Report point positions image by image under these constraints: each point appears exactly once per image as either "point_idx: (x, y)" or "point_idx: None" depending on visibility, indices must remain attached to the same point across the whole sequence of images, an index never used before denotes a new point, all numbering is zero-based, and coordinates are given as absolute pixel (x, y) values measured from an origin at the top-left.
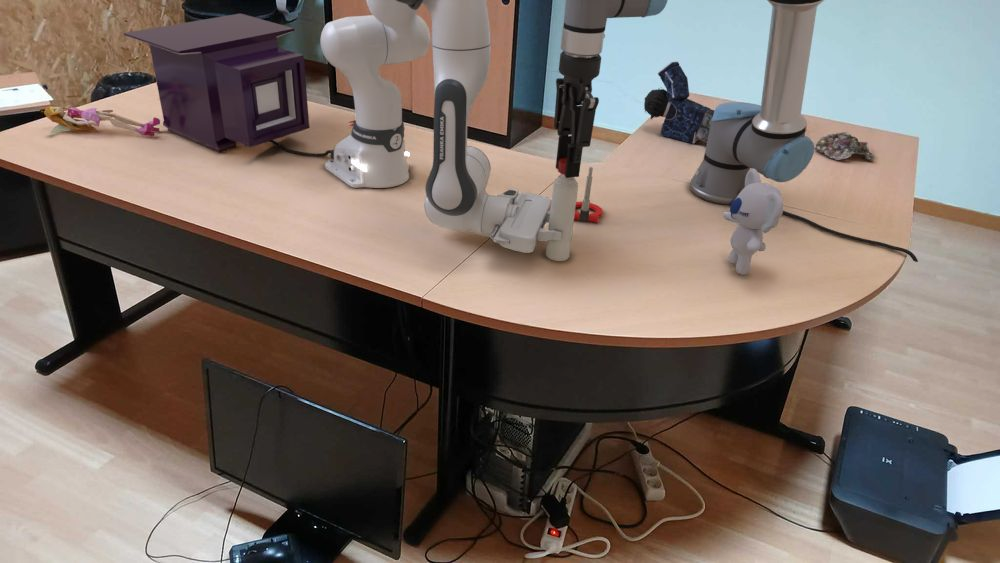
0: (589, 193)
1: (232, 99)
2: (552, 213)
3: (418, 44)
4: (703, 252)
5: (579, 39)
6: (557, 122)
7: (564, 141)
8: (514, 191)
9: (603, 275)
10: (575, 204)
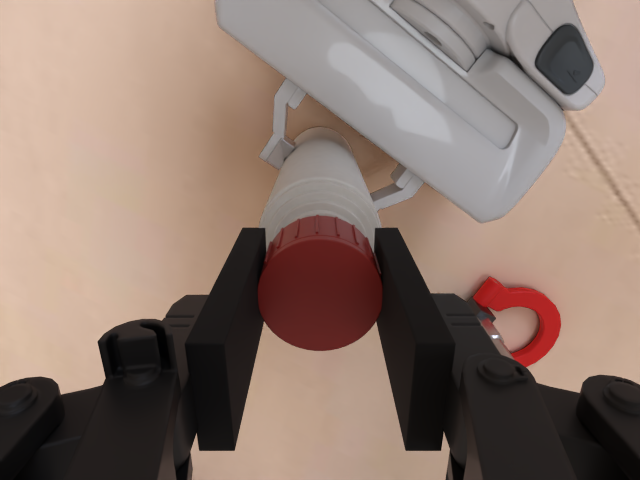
0: None
1: None
2: (313, 151)
3: None
4: (250, 468)
5: None
6: (628, 455)
7: (404, 360)
8: (569, 86)
9: (197, 231)
10: None
